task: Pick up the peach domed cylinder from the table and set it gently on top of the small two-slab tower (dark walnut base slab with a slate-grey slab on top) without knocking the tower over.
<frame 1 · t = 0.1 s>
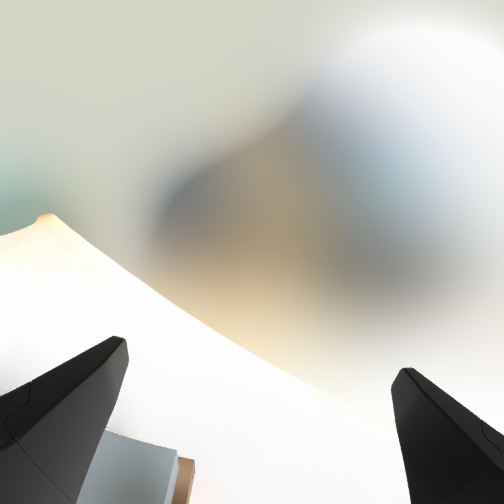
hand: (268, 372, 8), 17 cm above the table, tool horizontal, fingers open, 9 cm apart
grey top slab: (111, 496, 12), point 2 cm above the table, touching walnut base slab
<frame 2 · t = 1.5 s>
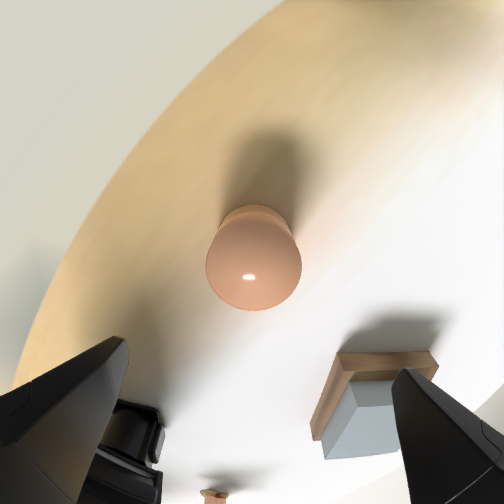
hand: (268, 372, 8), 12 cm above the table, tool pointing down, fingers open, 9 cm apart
grandmother figurine: (217, 494, 34), on the table
peach domed cylinder: (254, 240, 20), on the table
walnut base slab: (367, 387, 25), on the table, touching grey top slab
grey top slab: (372, 410, 23), point 2 cm above the table, touching walnut base slab
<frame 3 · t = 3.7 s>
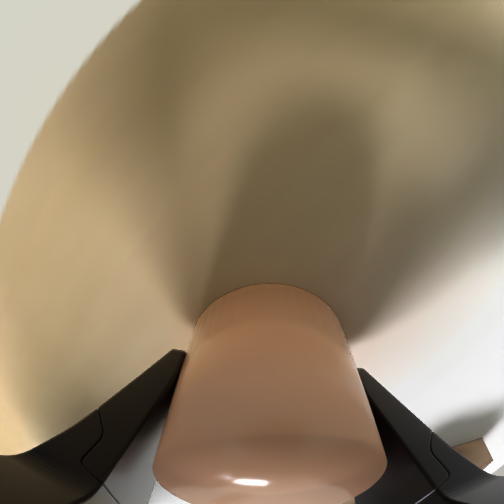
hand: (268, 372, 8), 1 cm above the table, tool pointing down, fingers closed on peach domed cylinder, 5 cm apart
peach domed cylinder: (268, 350, 9), on the table, touching gripper
walnut base slab: (401, 478, 15), on the table, touching grey top slab
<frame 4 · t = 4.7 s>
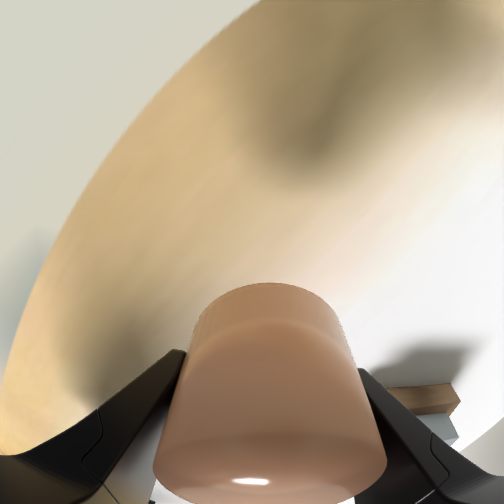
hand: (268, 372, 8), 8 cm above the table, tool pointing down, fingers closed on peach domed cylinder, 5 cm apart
peach domed cylinder: (268, 349, 9), point 7 cm above the table, touching gripper
walnut base slab: (381, 418, 22), on the table, touching grey top slab
grey top slab: (388, 443, 19), point 2 cm above the table, touching walnut base slab
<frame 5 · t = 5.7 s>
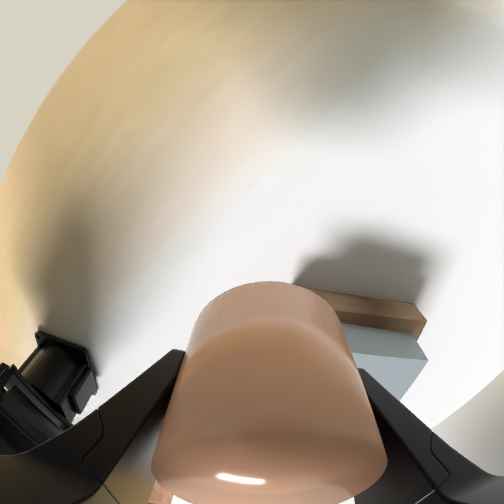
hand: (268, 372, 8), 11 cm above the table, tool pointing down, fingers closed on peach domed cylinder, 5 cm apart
grandmother figurine: (166, 471, 31), on the table
peach domed cylinder: (267, 349, 9), point 10 cm above the table, touching gripper
walnut base slab: (335, 345, 22), on the table, touching grey top slab
grey top slab: (342, 370, 19), point 2 cm above the table, touching walnut base slab
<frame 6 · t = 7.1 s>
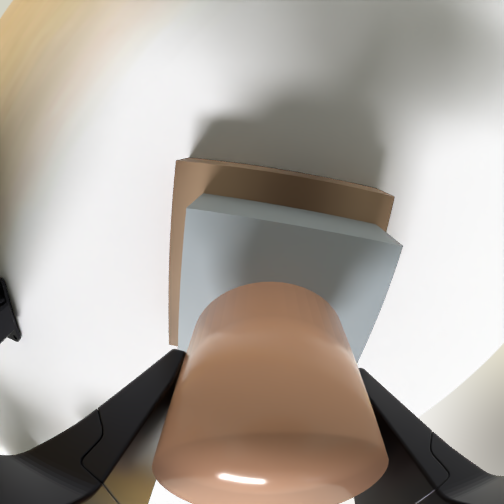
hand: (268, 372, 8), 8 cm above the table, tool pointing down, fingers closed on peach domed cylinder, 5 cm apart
peach domed cylinder: (268, 349, 9), point 7 cm above the table, touching gripper
walnut base slab: (270, 256, 17), on the table, touching grey top slab
grey top slab: (276, 288, 14), point 2 cm above the table, touching walnut base slab
when the fingers open (8 cm above the table, at t = 7.6 s): peach domed cylinder drops 2 cm, point 5 cm above the table.
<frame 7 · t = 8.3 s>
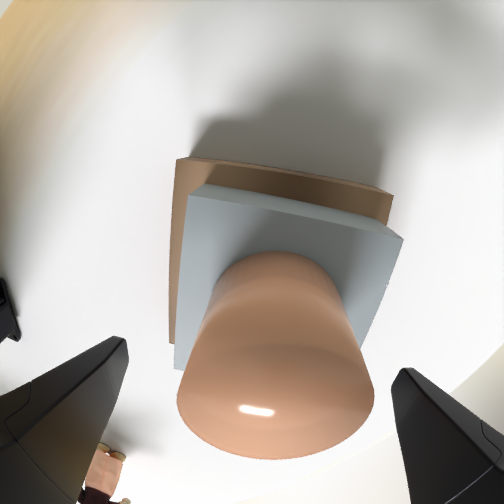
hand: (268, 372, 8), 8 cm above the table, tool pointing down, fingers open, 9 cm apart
grandmother figurine: (113, 452, 26), on the table
peach domed cylinder: (275, 311, 11), point 5 cm above the table
walnut base slab: (270, 255, 17), on the table
grey top slab: (275, 281, 14), point 2 cm above the table
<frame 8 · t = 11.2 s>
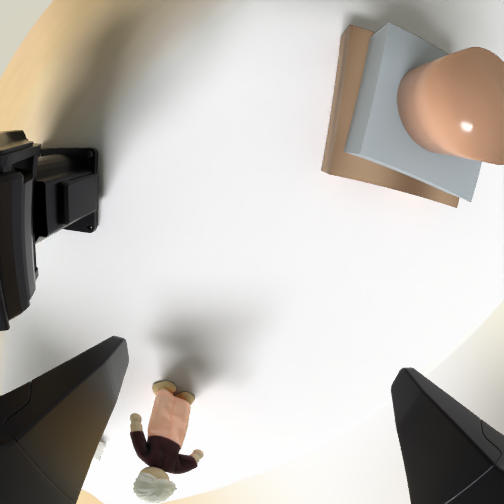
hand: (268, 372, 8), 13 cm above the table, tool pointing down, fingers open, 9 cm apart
grandmother figurine: (178, 394, 27), on the table
peach domed cylinder: (435, 109, 12), point 5 cm above the table, touching grey top slab
walnut base slab: (395, 119, 18), on the table, touching grey top slab
grey top slab: (414, 114, 15), point 2 cm above the table, touching peach domed cylinder, walnut base slab
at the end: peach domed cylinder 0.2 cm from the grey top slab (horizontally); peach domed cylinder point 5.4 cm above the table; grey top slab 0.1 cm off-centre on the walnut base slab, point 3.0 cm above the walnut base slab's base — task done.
